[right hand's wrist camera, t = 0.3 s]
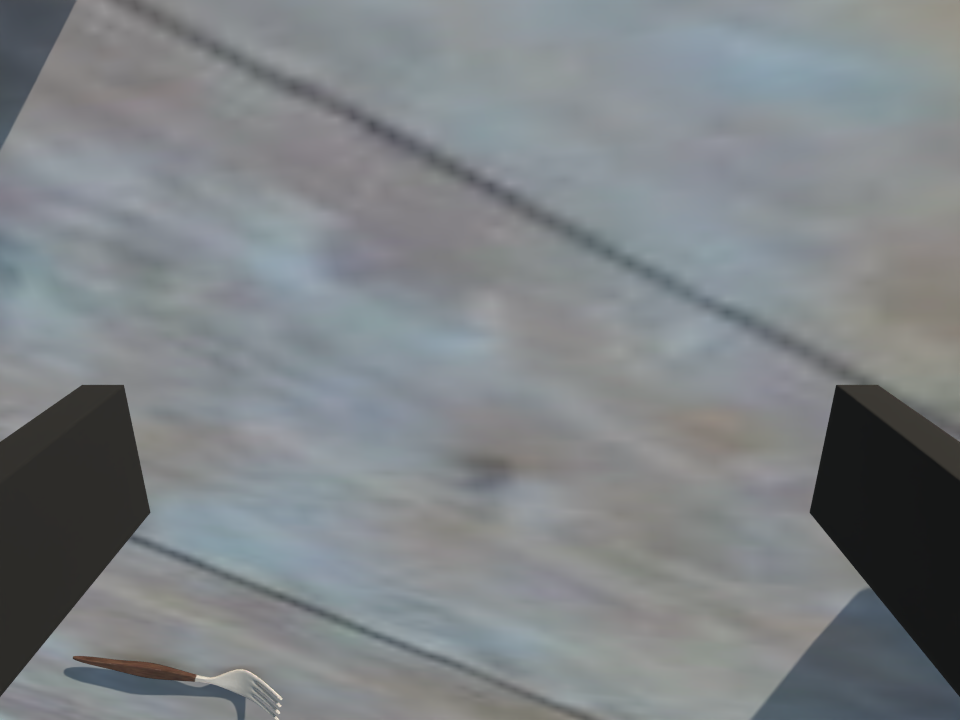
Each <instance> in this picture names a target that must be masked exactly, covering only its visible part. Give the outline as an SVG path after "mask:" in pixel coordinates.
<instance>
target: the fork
mask: <svg viewBox="0 0 960 720" xmlns="http://www.w3.org/2000/svg"><path fill="white" fill-rule="evenodd" d="M73 659H74V660H77V661H80V662H83V663H87V664H90V665H94V666H99V667H103V668H107V669H112V670H116V671H120V672H124V673H128V674H132V675H136V676H140V677H145V678H152V679H163V680H177V681H193V682H204V683H210V684H214V685H217V686H220V687H222V688H225V689H227V690H230V691H232V692H234V693H237V694H239V695H241V696H243V697H246V698H248V699H250V700H251V701H253V702H255V703H256V704H258V705H259V706H260V707H262V708H263V709H264V710H265V711H267V712H268V713H269V714H270V715H271V716H272V717H273V718H275V719H276V720H279V719H278V718H277V717H276V716H275V715H274V714H273V713H272V712H271V711H270V710H269V709H268V708H267V707H266V706H265V705H263V704H262V703H261V702H260V701H259V700H257V699H256V698H255V697H254V696H253V695H255V696H257V697H258V698H260V699H261V700H262V701H264V702H265V703H266V704H267V705H269V706H270V707H271V708H272V709H273V710H274V711H275V712H276V713H277V714H280V712H279V711H278V710H277V709H276V708H275V707H274V706H273V705H272V704H271V703H270V702H269V701H268V700H267V699H265V698H264V697H263V696H262V695H261V694H259V693H258V692H257V691H256V690H255V689H254V688H256V689H257V690H259V691H260V692H262V693H263V694H264V695H266V696H267V697H268V698H269V699H271V700H272V701H273V702H274V703H275V704H276V705H278V707H281V705H280V704H279V703H278V702H277V701H276V700H275V699H274V698H273V697H272V696H271V695H270V694H269V693H267V692H266V691H265V690H264V689H263V688H262V687H260V686H259V685H258V684H257V683H256V682H255V681H257V682H258V683H260V684H261V685H263V686H264V687H265V688H267V689H268V690H269V691H270V692H272V693H273V694H274V695H275V696H276V697H278V698H279V699H280V700H282V698H281V697H280V696H279V695H278V694H277V693H276V692H275V691H274V690H273V689H272V688H271V687H270V686H268V685H267V684H266V683H265V682H264V681H262V680H261V679H260V678H258V677H257V676H256V675H254V674H253V673H251V672H249V671H247V670H243V669H237V670H232V671H229V672H227V673H224V674H222V675H219V676H216V677H203V676H199V675H196V674H192V673H188V672H185V671H181V670H178V669H174V668H171V667H167V666H163V665H159V664H154V663H148V662H138V661H125V660H114V659H106V658H97V657H87V656H73Z"/></svg>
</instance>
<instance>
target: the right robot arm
mask: <svg viewBox="0 0 960 720" xmlns="http://www.w3.org/2000/svg"><path fill="white" fill-rule="evenodd" d="M149 514H150V509H149V504H148V499H147V494H146V490H145V485H144V480H143V475H142V470H141V466H140V461H139V456H138V451H137V446H136V441H135V437H134V432H133V427H132V422H131V417H130V413H129V408H128V403H127V398H126V393H125V389H124V385H81V386H80V387H79V388H77V389H76V390H74V391H73V392H71V393H70V394H69V395H67V396H66V397H64V398H63V399H61V400H60V401H59V402H57V403H56V404H54V405H53V406H51V407H50V408H48V409H47V410H46V411H44V412H43V413H41V414H40V415H38V416H37V417H36V418H34V419H33V420H31V421H30V422H28V423H27V424H25V425H24V426H23V427H21V428H20V429H18V430H17V431H15V432H14V433H13V434H11V435H10V436H8V437H7V438H5V439H4V440H3V441H1V442H0V696H1V695H2V694H3V693H4V692H5V690H6V689H7V688H8V687H9V685H10V684H11V683H12V682H13V680H14V679H15V678H16V677H17V676H18V674H19V673H20V672H21V671H22V669H23V668H24V667H25V666H26V665H27V663H28V662H29V661H30V660H31V658H32V657H33V656H34V655H35V653H36V652H37V651H38V650H39V649H40V647H41V646H42V645H43V644H44V642H45V641H46V640H47V639H48V638H49V636H50V635H51V634H52V633H53V631H54V630H55V629H56V628H57V626H58V625H59V624H60V623H61V622H62V620H63V619H64V618H65V617H66V615H67V614H68V613H69V612H70V611H71V609H72V608H73V607H74V606H75V604H76V603H77V602H78V601H79V599H80V598H81V597H82V596H83V595H84V593H85V592H86V591H87V590H88V588H89V587H90V586H91V585H92V584H93V582H94V581H95V580H96V579H97V577H98V576H99V575H100V574H101V572H102V571H103V570H104V569H105V568H106V566H107V565H108V564H109V563H110V561H111V560H112V559H113V558H114V557H115V555H116V554H117V553H118V552H119V550H120V549H121V548H122V547H123V545H124V544H125V543H126V542H127V541H128V539H129V538H130V537H131V536H132V534H133V533H134V532H135V531H136V530H137V528H138V527H139V526H140V525H141V523H142V522H143V521H144V520H145V518H146V517H147V516H148V515H149ZM810 514H811V515H812V516H813V517H814V518H815V520H816V521H817V522H818V523H819V525H820V526H821V527H822V528H823V530H824V531H825V532H826V533H827V534H828V536H829V537H830V538H831V539H832V541H833V542H834V543H835V544H836V545H837V547H838V548H839V549H840V550H841V552H842V553H843V554H844V555H845V557H846V558H847V559H848V560H849V561H850V563H851V564H852V565H853V566H854V568H855V569H856V570H857V571H858V572H859V574H860V575H861V576H862V577H863V579H864V580H865V581H866V582H867V584H868V585H869V586H870V587H871V588H872V590H873V591H874V592H875V593H876V595H877V596H878V597H879V598H880V599H881V601H882V602H883V603H884V604H885V606H886V607H887V608H888V609H889V611H890V612H891V613H892V614H893V615H894V617H895V618H896V619H897V620H898V622H899V623H900V624H901V625H902V626H903V628H904V629H905V630H906V631H907V633H908V634H909V635H910V636H911V638H912V639H913V640H914V641H915V642H916V644H917V645H918V646H919V647H920V649H921V650H922V651H923V652H924V653H925V655H926V656H927V657H928V658H929V660H930V661H931V662H932V663H933V665H934V666H935V667H936V668H937V669H938V671H939V672H940V673H941V674H942V676H943V677H944V678H945V679H946V680H947V682H948V683H949V684H950V685H951V687H952V688H953V689H954V690H955V692H956V693H957V694H958V695H959V696H960V442H959V441H957V440H956V439H955V438H953V437H952V436H950V435H949V434H947V433H946V432H945V431H943V430H942V429H940V428H939V427H937V426H936V425H935V424H933V423H932V422H930V421H929V420H927V419H926V418H924V417H923V416H922V415H920V414H919V413H917V412H916V411H914V410H913V409H912V408H910V407H909V406H907V405H906V404H904V403H903V402H901V401H900V400H899V399H897V398H896V397H894V396H893V395H891V394H890V393H889V392H887V391H886V390H884V389H883V388H881V387H880V386H879V385H836V389H835V393H834V398H833V403H832V408H831V413H830V417H829V422H828V427H827V432H826V437H825V441H824V446H823V451H822V456H821V461H820V466H819V470H818V475H817V480H816V485H815V490H814V494H813V499H812V504H811V509H810Z"/></svg>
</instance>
